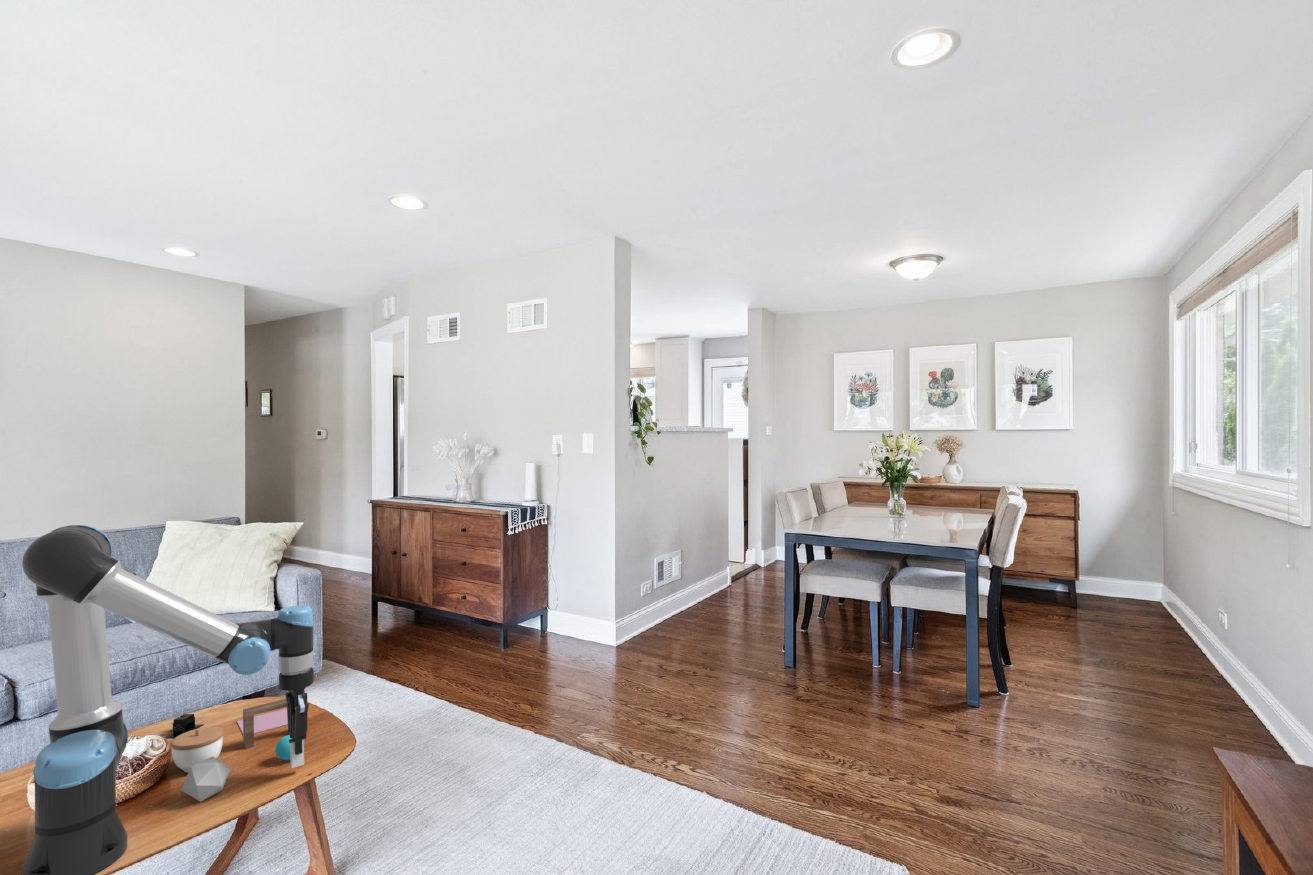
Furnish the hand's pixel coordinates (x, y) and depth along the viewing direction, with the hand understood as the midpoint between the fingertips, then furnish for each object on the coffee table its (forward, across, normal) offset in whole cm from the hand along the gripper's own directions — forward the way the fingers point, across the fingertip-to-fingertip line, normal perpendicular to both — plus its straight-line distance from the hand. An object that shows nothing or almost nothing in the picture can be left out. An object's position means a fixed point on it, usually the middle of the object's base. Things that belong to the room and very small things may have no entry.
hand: (297, 765), depth 156 cm
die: (+2, +4, +18) cm, 18 cm away
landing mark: (+2, +40, 0) cm, 40 cm away
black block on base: (+3, +49, +19) cm, 53 cm away
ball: (-1, +10, 0) cm, 10 cm away
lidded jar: (+2, +22, +18) cm, 28 cm away
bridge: (+2, +26, 0) cm, 26 cm away
